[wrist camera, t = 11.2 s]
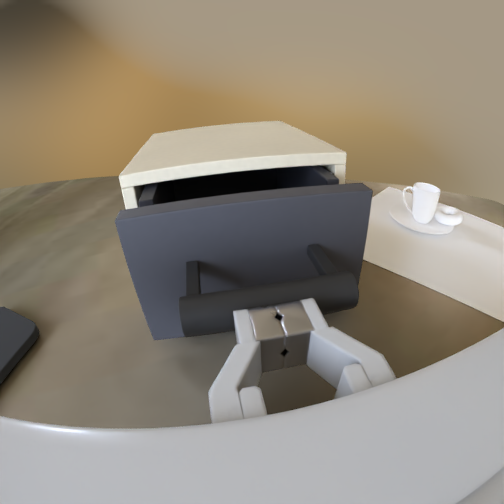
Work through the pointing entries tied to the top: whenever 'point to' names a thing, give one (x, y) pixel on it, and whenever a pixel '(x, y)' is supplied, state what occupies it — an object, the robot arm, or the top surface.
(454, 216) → the teacup and saucer
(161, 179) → the cabinet
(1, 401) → the top surface
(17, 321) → the phone
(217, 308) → the drawer
